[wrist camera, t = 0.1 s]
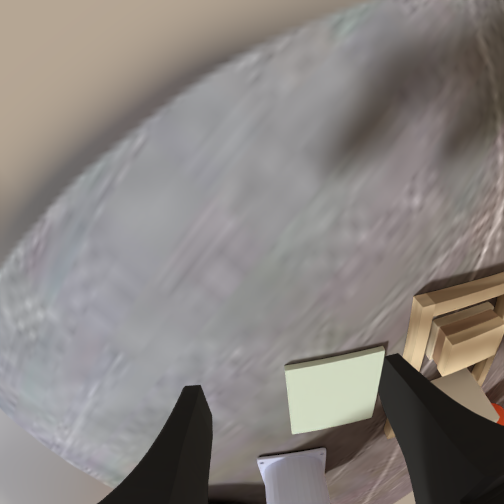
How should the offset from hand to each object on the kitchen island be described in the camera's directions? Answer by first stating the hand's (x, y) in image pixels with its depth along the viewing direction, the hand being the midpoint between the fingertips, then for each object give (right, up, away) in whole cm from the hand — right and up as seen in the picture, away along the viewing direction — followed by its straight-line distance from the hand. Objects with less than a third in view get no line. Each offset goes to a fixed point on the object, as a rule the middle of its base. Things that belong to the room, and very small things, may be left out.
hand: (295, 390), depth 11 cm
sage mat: (+6, -8, +15) cm, 18 cm away
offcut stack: (+17, -2, +13) cm, 22 cm away
